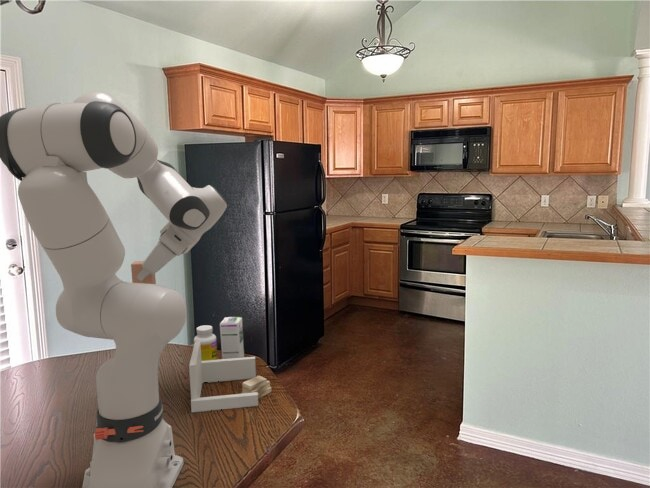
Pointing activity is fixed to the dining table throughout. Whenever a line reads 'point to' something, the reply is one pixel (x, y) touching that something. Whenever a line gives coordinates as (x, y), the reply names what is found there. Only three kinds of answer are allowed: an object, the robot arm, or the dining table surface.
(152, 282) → the salmon pink rectangular block
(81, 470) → the dining table surface
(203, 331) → the supplement bottle
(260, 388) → the offcut stack
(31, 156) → the robot arm
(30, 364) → the dining table surface
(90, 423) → the dining table surface
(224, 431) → the dining table surface
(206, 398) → the offcut rack
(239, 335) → the syrup box
